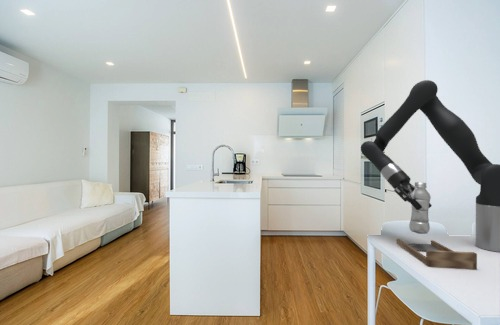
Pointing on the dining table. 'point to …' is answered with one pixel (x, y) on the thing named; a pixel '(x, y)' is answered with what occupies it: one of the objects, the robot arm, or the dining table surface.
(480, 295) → the dining table surface
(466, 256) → the wooden tray frame
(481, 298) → the dining table surface
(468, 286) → the dining table surface
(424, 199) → the plastic bottle
